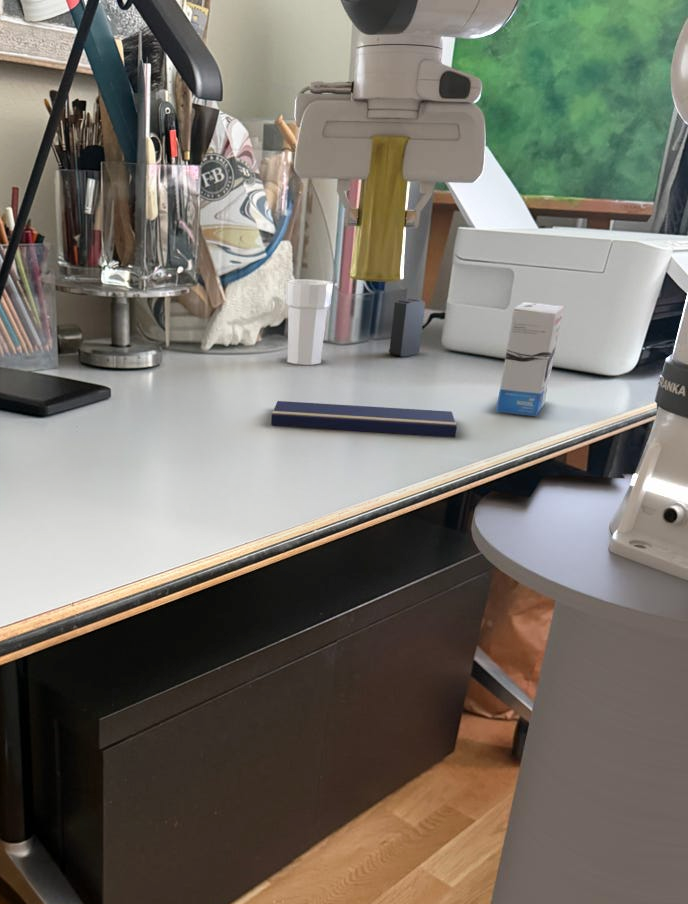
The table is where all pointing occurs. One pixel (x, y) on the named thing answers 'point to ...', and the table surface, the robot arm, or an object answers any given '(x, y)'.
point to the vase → (382, 214)
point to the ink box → (529, 358)
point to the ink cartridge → (407, 327)
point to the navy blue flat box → (364, 418)
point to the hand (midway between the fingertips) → (381, 226)
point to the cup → (307, 319)
